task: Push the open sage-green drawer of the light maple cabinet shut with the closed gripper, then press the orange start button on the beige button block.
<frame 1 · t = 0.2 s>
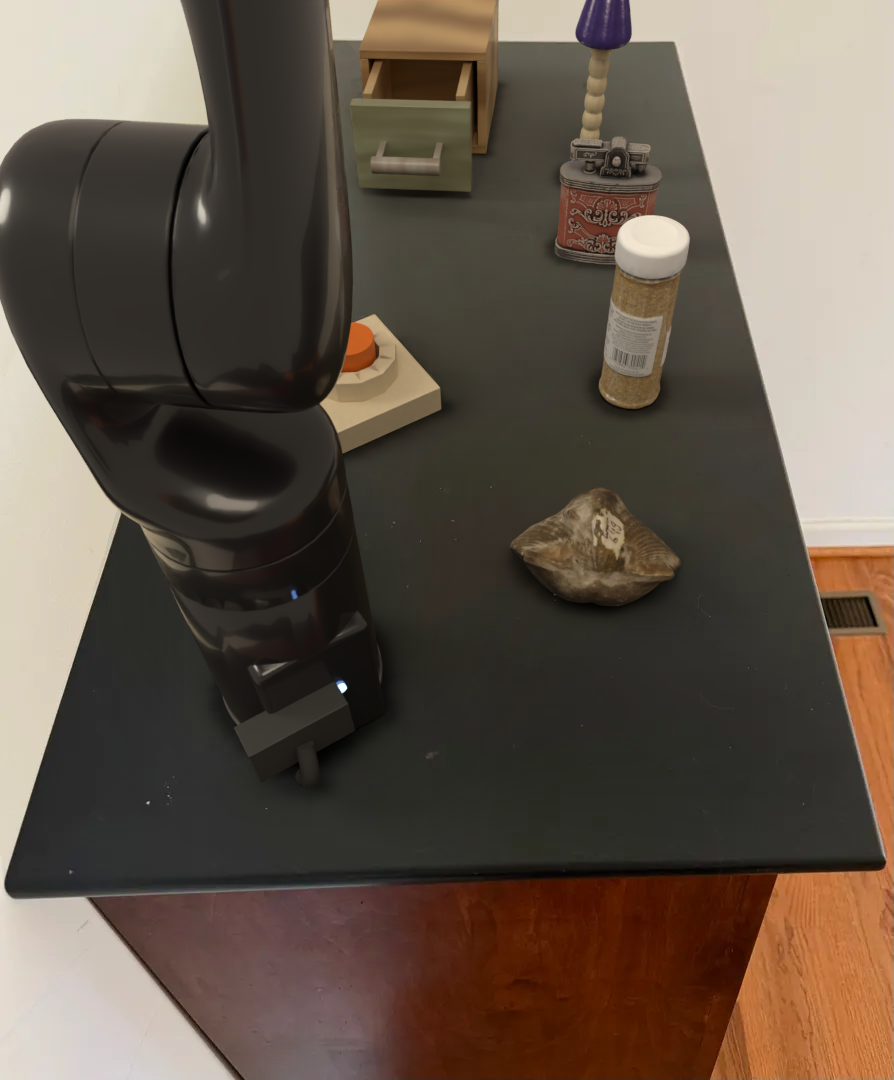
lighter: (601, 254, 79), on the table
spice jar: (627, 392, 68), on the table
fossilized seashell: (593, 575, 58), on the table
button block: (356, 393, 69), on the table
toy lamp: (587, 180, 86), on the table
cabinet: (435, 117, 93), on the table
drawer: (418, 125, 83), point 5 cm above the table, slide at 7.0 cm
start button: (349, 347, 65), point 4 cm above the table, slide at 0.1 cm
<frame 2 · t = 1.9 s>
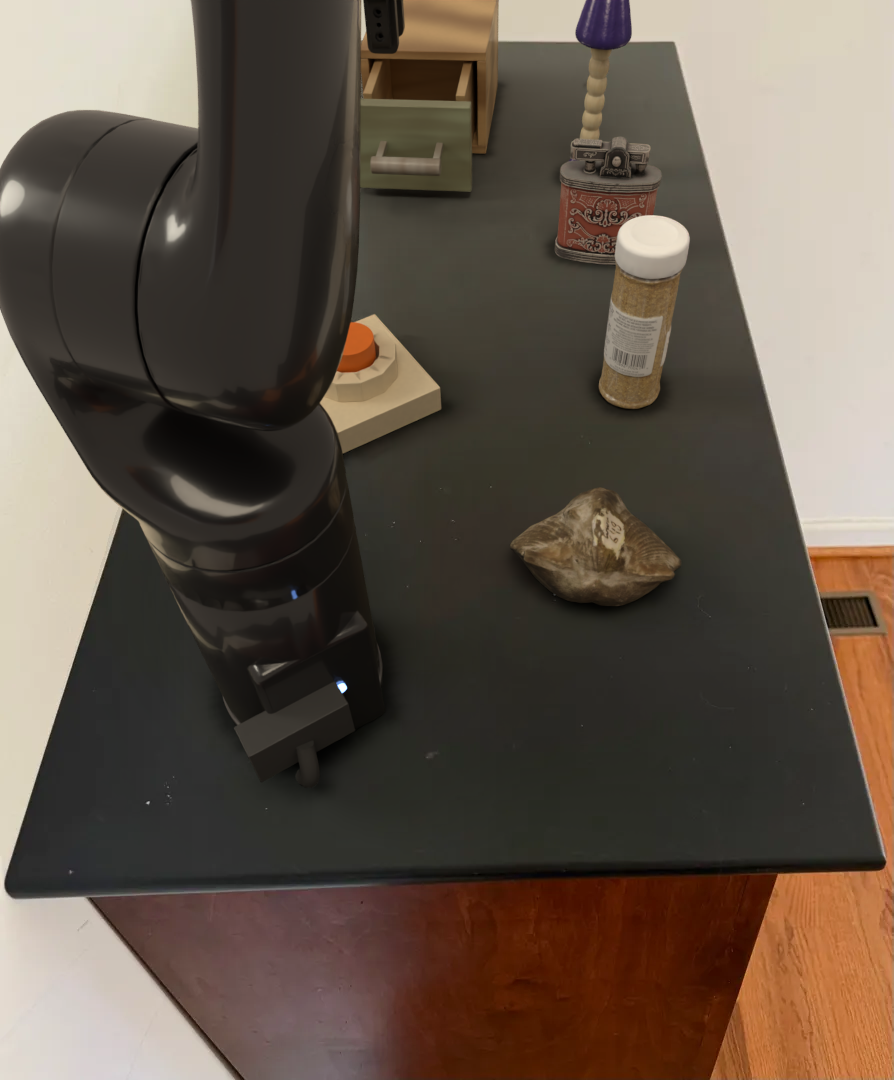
hand: (387, 41, 67), 17 cm above the table, tool pointing down, fingers closed
nothing on the table moved.
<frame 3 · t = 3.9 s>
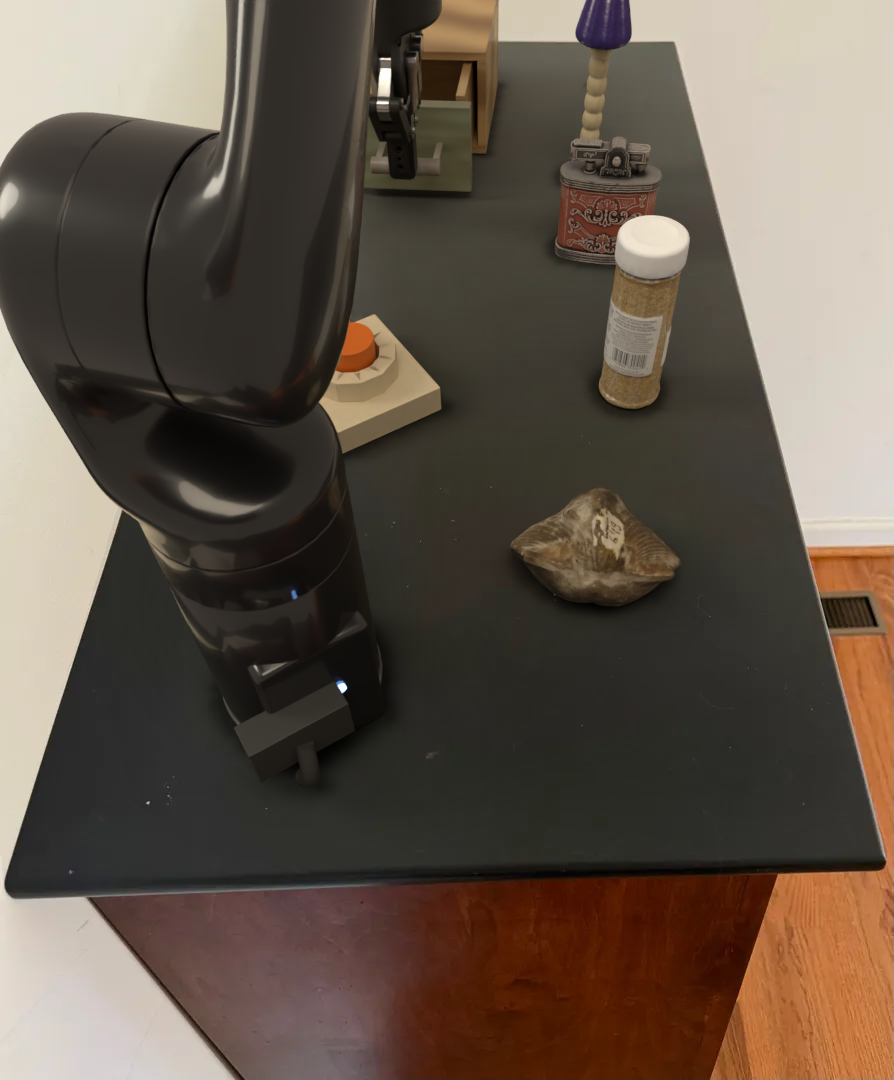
hand: (404, 174, 77), 5 cm above the table, tool pointing down, fingers closed
drawer: (418, 125, 83), point 5 cm above the table, slide at 7.0 cm, touching gripper
everything else where it was.
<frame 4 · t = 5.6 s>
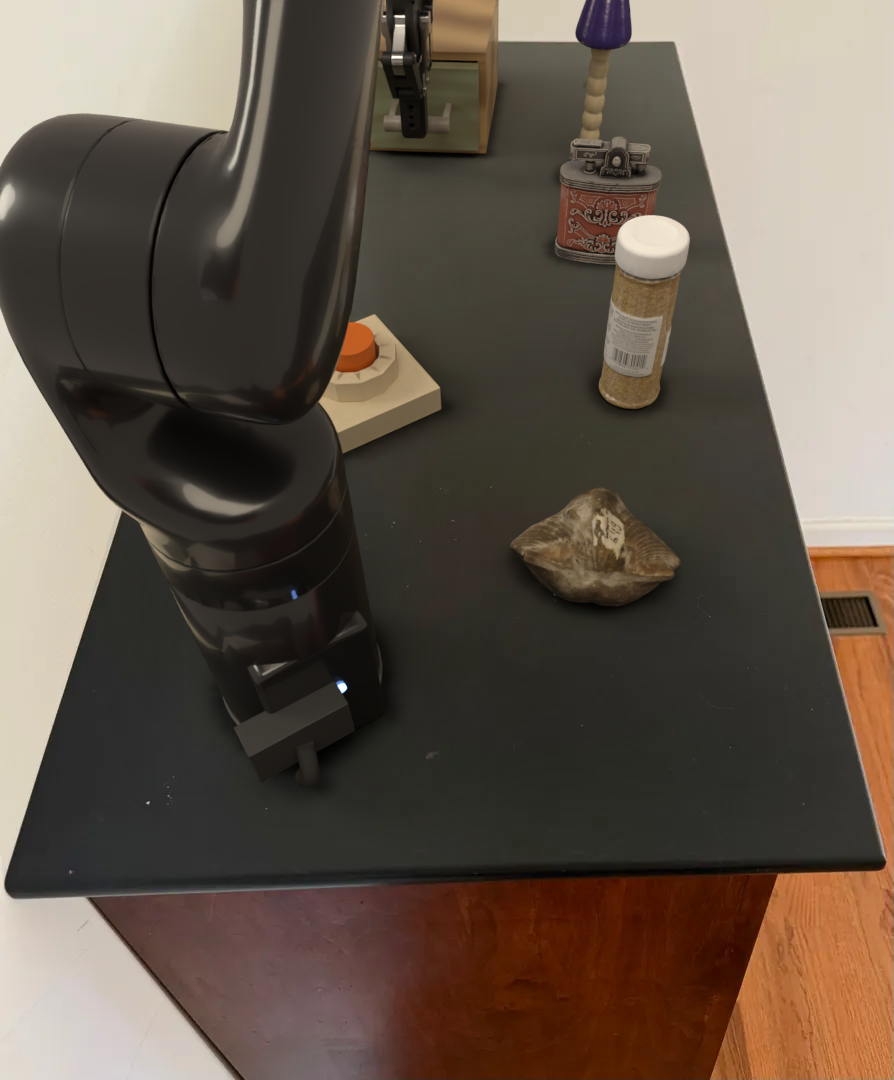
hand: (415, 134, 81), 5 cm above the table, tool pointing down, fingers closed
drawer: (428, 88, 87), point 5 cm above the table, slide at 0.0 cm, touching cabinet, gripper
everything else where it was.
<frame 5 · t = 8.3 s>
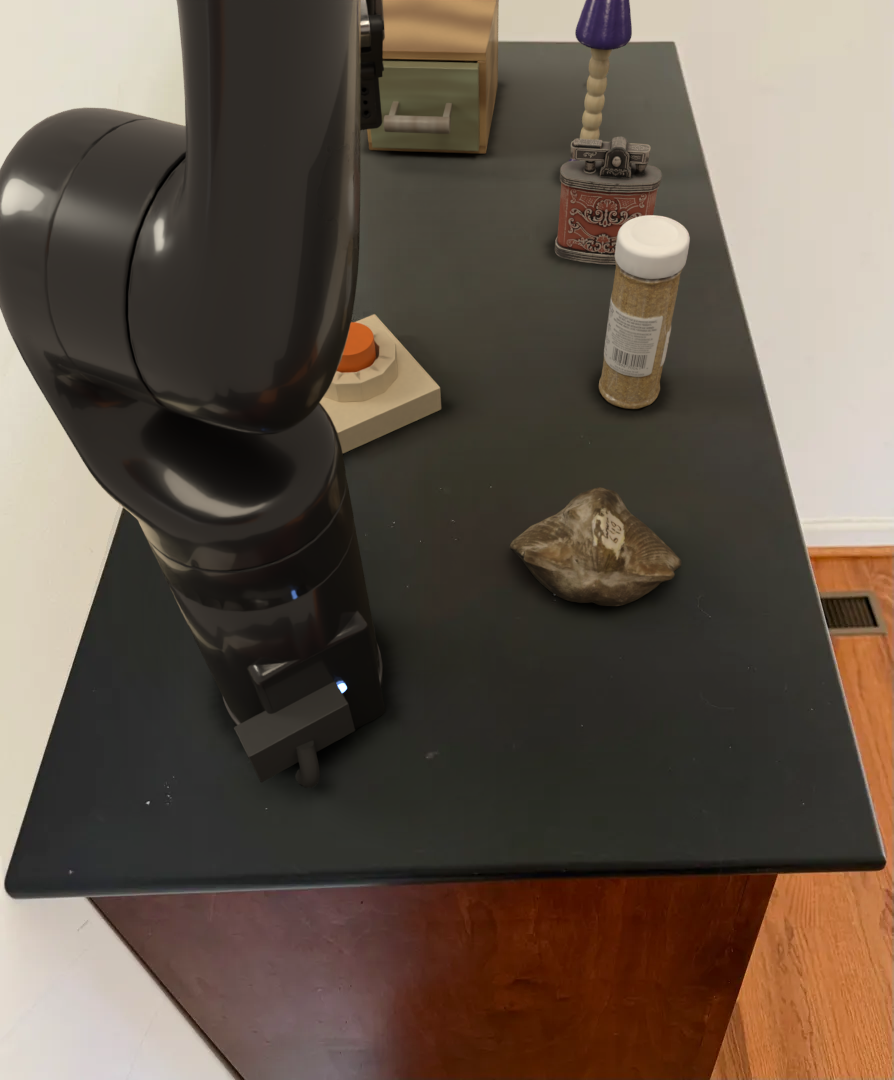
hand: (366, 123, 66), 14 cm above the table, tool pointing down, fingers closed
drawer: (428, 88, 87), point 5 cm above the table, slide at 0.0 cm
everything else where it was.
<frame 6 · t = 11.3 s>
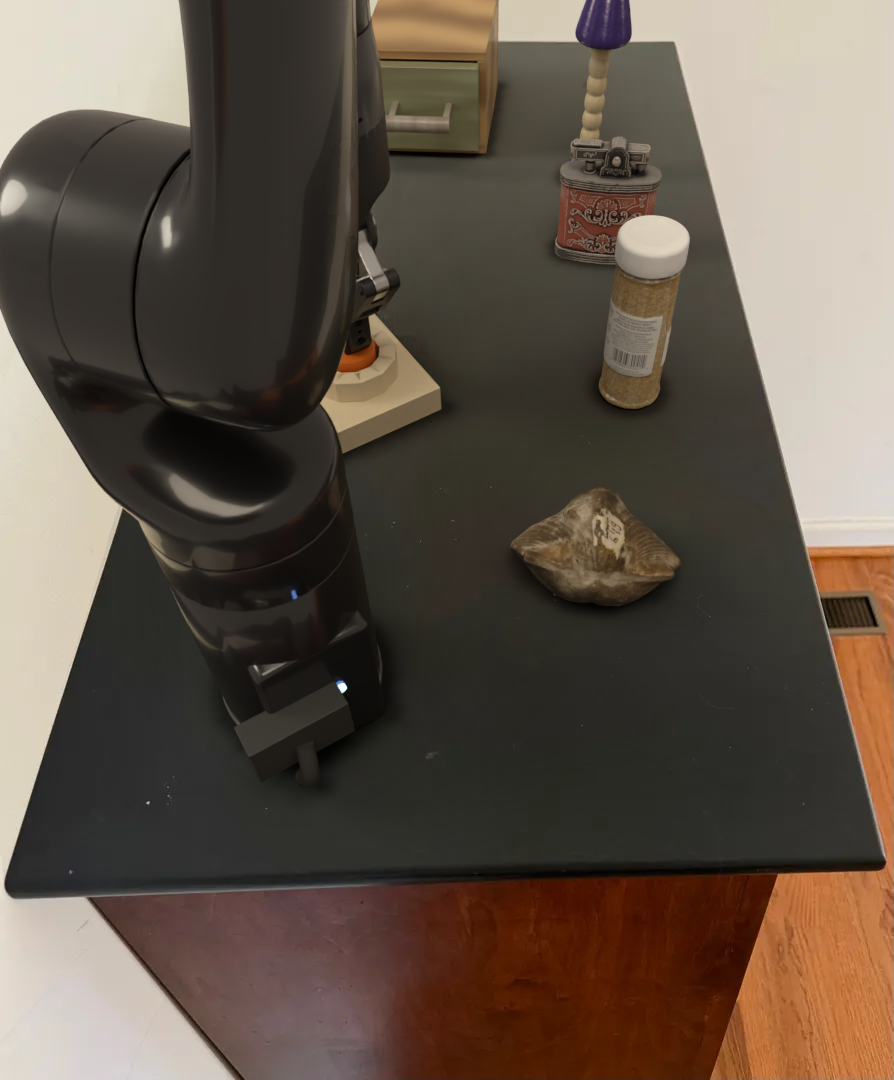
hand: (354, 345, 65), 5 cm above the table, tool pointing down, fingers closed
start button: (350, 355, 66), point 4 cm above the table, slide at -0.7 cm, touching gripper
everything else where it was.
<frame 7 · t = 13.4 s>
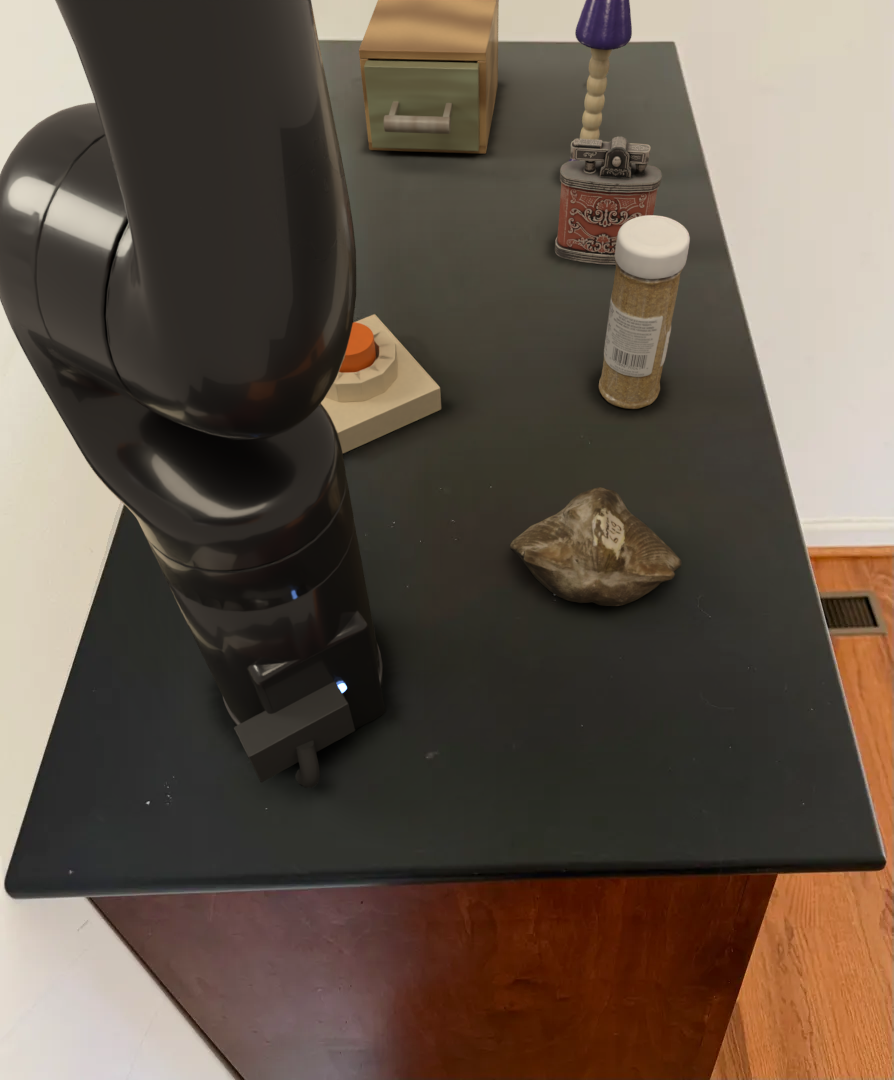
hand: (251, 161, 55), 18 cm above the table, tool pointing down, fingers closed
start button: (349, 347, 65), point 4 cm above the table, slide at 0.1 cm
everything else where it was.
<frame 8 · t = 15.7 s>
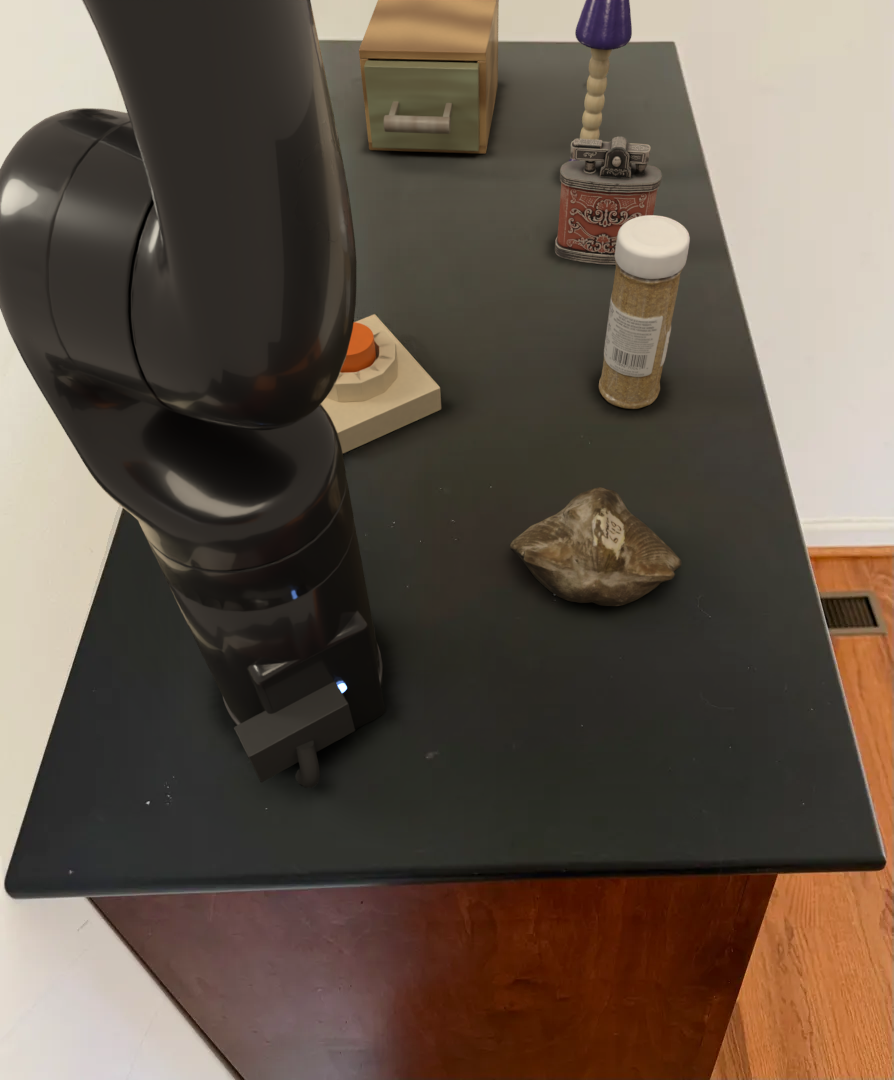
nothing on the table moved.
at the end: drawer slide at 0.0 cm; start button pushed in 1.1 cm at the most during the clip, back to where it started at the end; start button slide at 0.1 cm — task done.
